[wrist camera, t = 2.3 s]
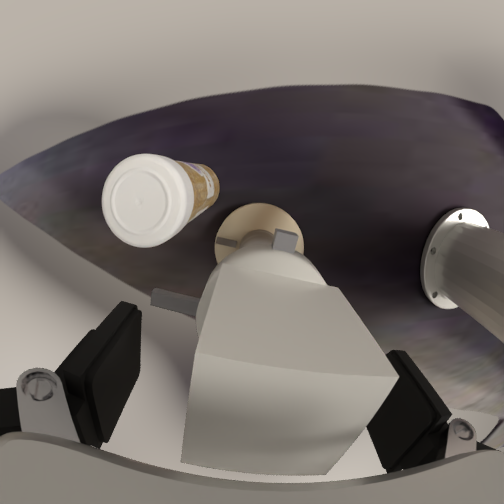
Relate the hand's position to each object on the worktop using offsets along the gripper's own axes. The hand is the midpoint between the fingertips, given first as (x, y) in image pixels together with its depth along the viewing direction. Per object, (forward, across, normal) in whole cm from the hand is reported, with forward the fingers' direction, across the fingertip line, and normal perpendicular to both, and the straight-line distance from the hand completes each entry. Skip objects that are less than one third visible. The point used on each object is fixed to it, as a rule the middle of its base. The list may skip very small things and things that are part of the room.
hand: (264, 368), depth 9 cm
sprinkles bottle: (+18, +6, -4) cm, 20 cm away
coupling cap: (+5, +1, 0) cm, 5 cm away
